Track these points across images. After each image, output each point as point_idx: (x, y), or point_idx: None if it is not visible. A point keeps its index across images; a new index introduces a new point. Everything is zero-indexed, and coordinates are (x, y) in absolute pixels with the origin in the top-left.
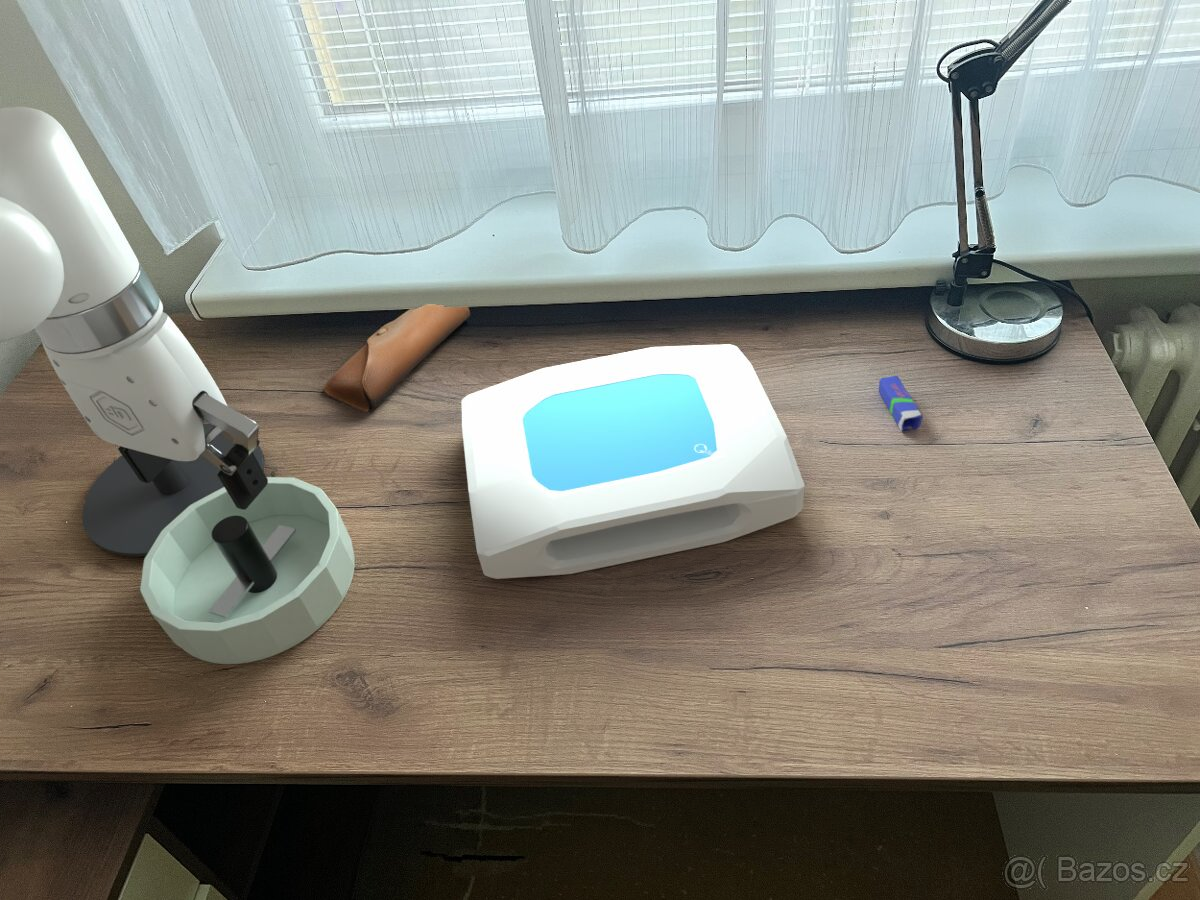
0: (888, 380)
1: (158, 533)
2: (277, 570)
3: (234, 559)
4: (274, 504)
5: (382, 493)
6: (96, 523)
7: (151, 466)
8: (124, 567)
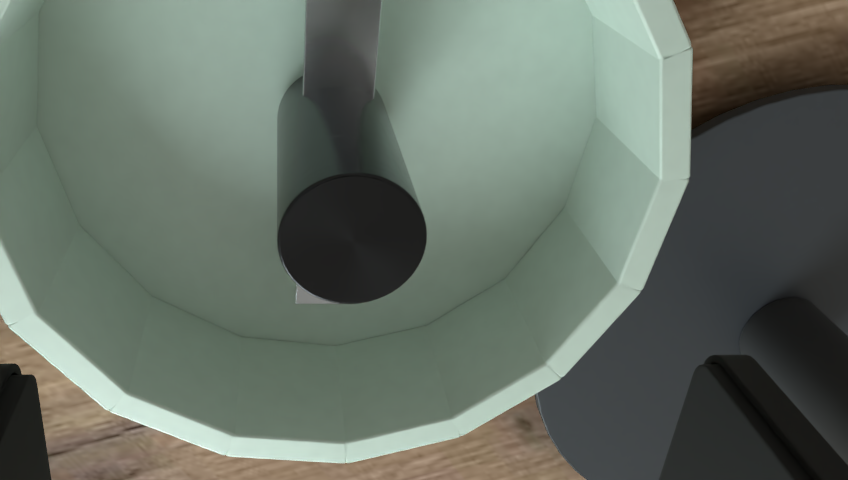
0: None
1: (745, 181)
2: None
3: (322, 135)
4: (421, 356)
5: (175, 456)
6: None
7: (714, 455)
8: (806, 54)
